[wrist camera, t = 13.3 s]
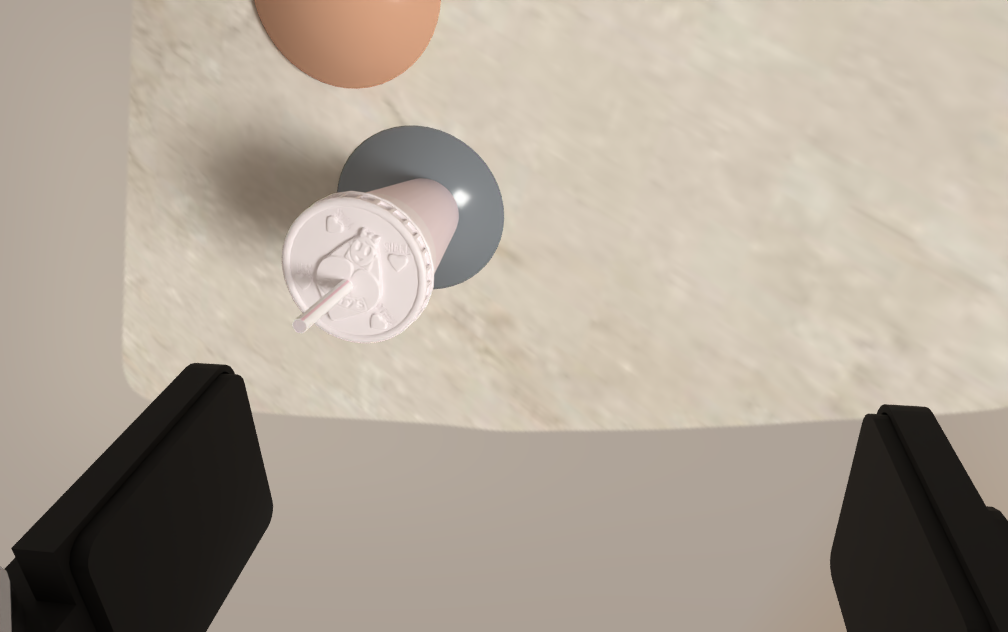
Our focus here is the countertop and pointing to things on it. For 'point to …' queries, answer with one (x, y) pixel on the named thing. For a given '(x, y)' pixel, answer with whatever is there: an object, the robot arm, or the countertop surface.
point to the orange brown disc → (350, 36)
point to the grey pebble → (450, 165)
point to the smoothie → (368, 258)
